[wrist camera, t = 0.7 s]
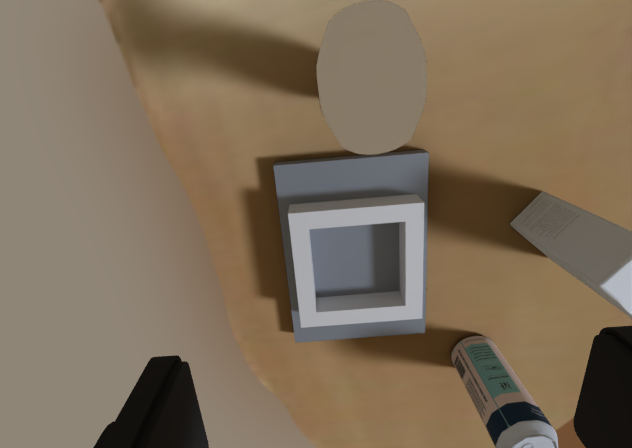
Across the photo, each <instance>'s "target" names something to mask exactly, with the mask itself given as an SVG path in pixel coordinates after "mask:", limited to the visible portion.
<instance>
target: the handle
mask: <svg viewBox="0 0 632 448" xmlns="http://www.w3.org/2000/svg"><path fill="white" fill-rule="evenodd" d="M316 77H317V85H318V93H319V101H320V108H321V111H322V114H323V116H324V118H325V120H326V122H327V124H328V125H329V127H330V129H331V130H332V132H333V134H334V135H335V137H336V138H337V140H338V141H339V143H340V144H341V146H342V147H343V148H344V149H346V150H348V151H351V152H354V153H357V154H365V155H372V154H381V153H385V152H389V151H392V150H394V149H397V148H399V147H400V146H402V145H404V144H405V143H406V142H407V141H409V140H410V139H411V138H412V136H413V134H414V131H415V129H416V126H417V124H418V122H419V119H420V116H421V114H422V111H423V108H424V105H425V101H426V93H427V73H426V58H425V50H424V47H423V45H422V42H421V39H420V37H419V35H418V33H417V31H416V29H415V27H414V25H413V23H412V21H411V19H410V17H409V15H408V13H407V11H406V9H404V8H402V7H400V6H399V5H397V4H394V3H392V2H389V1H381V0H372V1H363V2H359V3H355V4H352V5H350V6H348V7H345V8H343V9H342V10H341V11H339V12H338V13H337V14H335V15H334V16H333V17H332V18H331V19H330V20H329V21H328V24H327V27H326V31H325V34H324V37H323V40H322V44H321V48H320V51H319V55H318V59H317V64H316Z"/></svg>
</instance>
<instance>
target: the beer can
mask: <svg viewBox="0 0 632 448" xmlns="http://www.w3.org/2000/svg"><path fill="white" fill-rule="evenodd" d="M451 359H452V363H453V365H454V366H455V367H456V369H457V371H458V373H459V375H460V377H461V379H462V381H463V383H464V385H465V387H466V389H467V391H468V393H469V395H470V397H471V399H472V401H473V403H474V405H475V407H476V409H477V411H478V413H479V415H480V417H481V419H482V421H483V423H484V425H485V427H486V429H487V431H488V433H489V435H490V437H491V439H492V441H493V443H494V445H495V447H496V448H558V439H557V434H556V431H555V430H554V428H553V427H552V426H551V424H550V423H549V421H548V420H547V418H546V417H545V416H544V414H543V413H542V411H541V410H540V408H539V407H538V406H537V404H536V403H535V401H534V400H533V398H532V397H531V395H530V394H529V393H528V391H527V390H526V388H525V387H524V385H523V384H522V383H521V381H520V380H519V378H518V377H517V375H516V374H515V373H514V371H513V370H512V368H511V367H510V365H509V364H508V362H507V361H506V360H505V358H504V357H503V355H502V354H501V352H500V351H499V350H498V348H497V347H496V345H495V344H494V342H493V341H492V340H490V339H489V338H487V337H483V336H472V337H468V338H465V339H463V340H461V341H460V342H459V343H458V344H457V345H456V346H455V347H454V349H453V352H452V355H451Z"/></svg>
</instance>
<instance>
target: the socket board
mask: <svg viewBox="0 0 632 448" xmlns="http://www.w3.org/2000/svg"><path fill="white" fill-rule="evenodd" d="M428 166H429V152H427V151H425V150H412V151H400V152H389V153H381V154H372V155H353V156H342V157H330V158H318V159H306V160H295V161H283V162H275V163H274V165H273V167H274V176H275V184H276V192H277V200H278V208H279V216H280V224H281V232H282V240H283V248H284V256H285V264H286V272H287V280H288V288H289V296H290V304H291V312H292V320H293V328H294V336H295V343H296V342H310V341H323V340H336V339H350V338H363V337H377V336H390V335H403V334H417V333H425V312H426V263H427V215H428Z"/></svg>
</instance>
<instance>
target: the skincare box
mask: <svg viewBox="0 0 632 448" xmlns="http://www.w3.org/2000/svg"><path fill="white" fill-rule="evenodd" d="M510 225H511V226H512V227H513V228H514V229H515V230H516V231H518V232H519V233H520V234H521V235H522V236H523V237H524V238H526V239H527V240H528V241H529V242H530V243H532V244H533V245H534V246H535V247H536V248H538V249H539V250H540V251H541V252H542V253H544V254H545V255H546V256H547V257H548V258H550V259H551V260H552V261H553V262H555V263H556V264H558V265H559V266H560V267H562V268H563V269H564V270H566V271H567V272H569V273H570V274H571V275H573V276H574V277H576V278H577V279H578V280H580V281H581V282H583V283H584V284H585V285H587V286H588V287H589V288H591V289H592V290H594V291H595V292H596V293H598V294H599V295H600V296H602V297H603V298H605V299H606V300H607V301H609V302H610V303H611V304H613V305H614V306H616V307H617V308H618V309H620V310H621V311H622V312H624V313H625V314H626V315H628V316H629V317H630V318H632V231H630V230H627V229H625V228H623V227H621V226H619V225H617V224H614V223H612V222H610V221H608V220H606V219H603V218H601V217H599V216H597V215H595V214H592V213H590V212H588V211H586V210H584V209H581V208H579V207H577V206H575V205H572V204H570V203H568V202H566V201H564V200H562V199H559V198H557V197H555V196H553V195H550V194H548V193H546V192H541V193H540V194H539V195H538V196H537V197H536V198H535V199H534V200H533V201H532V202H531V203H530V204H529V205H528V206H527V207H526V208H525V209H524V210H523V211H522V212H521V213H520V214H519V215H518V216H517V217H516V218H515V219H514V220H513V221H512V222H511V223H510Z"/></svg>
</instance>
